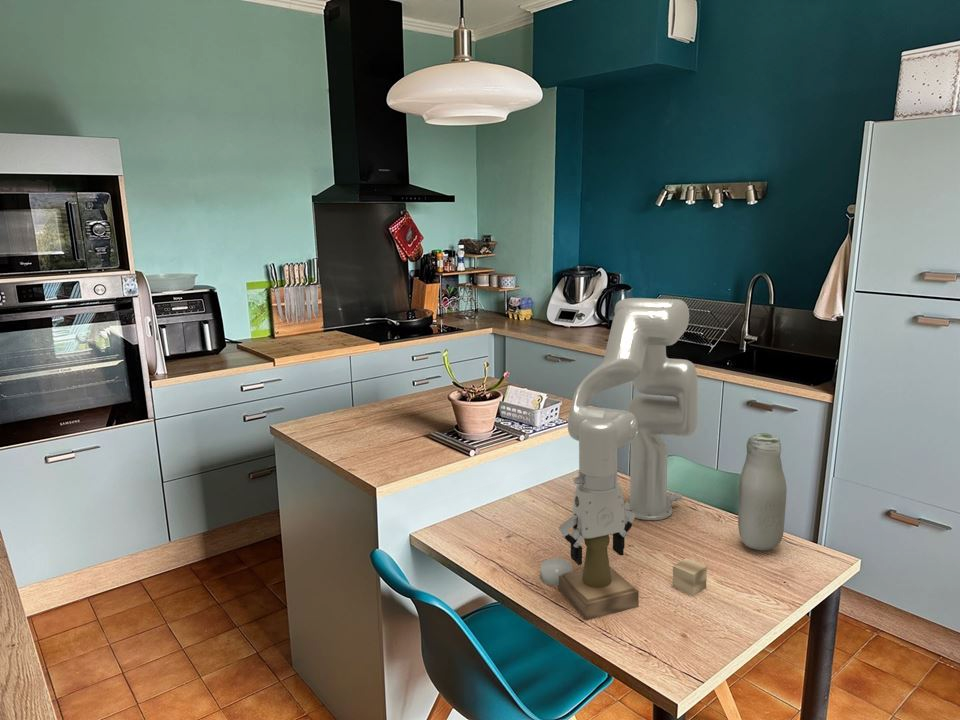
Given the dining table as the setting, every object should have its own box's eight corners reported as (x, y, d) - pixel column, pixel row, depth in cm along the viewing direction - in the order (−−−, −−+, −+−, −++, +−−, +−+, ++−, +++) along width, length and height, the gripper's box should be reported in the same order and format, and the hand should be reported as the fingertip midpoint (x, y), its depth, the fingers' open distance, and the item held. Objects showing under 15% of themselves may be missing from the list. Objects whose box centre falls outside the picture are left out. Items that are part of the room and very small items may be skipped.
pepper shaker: (577, 583, 142) (577, 534, 140) (588, 570, 147) (588, 522, 145) (605, 590, 139) (605, 540, 137) (615, 576, 144) (615, 528, 142)
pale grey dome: (563, 567, 157) (563, 555, 156) (578, 582, 150) (578, 570, 150) (535, 574, 154) (535, 562, 154) (549, 589, 148) (549, 576, 147)
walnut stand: (607, 578, 151) (607, 561, 150) (638, 606, 140) (638, 588, 139) (558, 590, 147) (558, 573, 146) (586, 620, 136) (586, 601, 135)
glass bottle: (766, 535, 168) (772, 426, 163) (790, 555, 159) (798, 439, 153) (728, 539, 167) (733, 429, 161) (750, 559, 157) (756, 443, 151)
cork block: (685, 579, 150) (686, 558, 149) (706, 587, 146) (706, 566, 145) (672, 587, 147) (672, 566, 146) (693, 596, 143) (693, 574, 142)
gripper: (568, 493, 132) (569, 574, 135) (645, 478, 138) (643, 557, 141) (550, 479, 139) (551, 557, 142) (624, 466, 145) (624, 541, 148)
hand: (597, 557), depth 142 cm, fingers open, 9 cm apart
